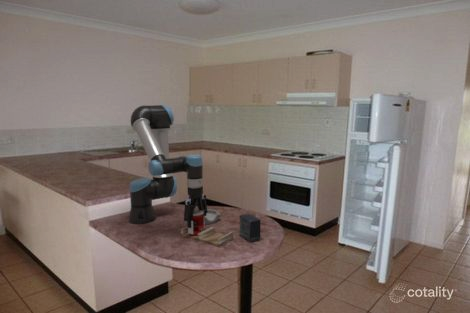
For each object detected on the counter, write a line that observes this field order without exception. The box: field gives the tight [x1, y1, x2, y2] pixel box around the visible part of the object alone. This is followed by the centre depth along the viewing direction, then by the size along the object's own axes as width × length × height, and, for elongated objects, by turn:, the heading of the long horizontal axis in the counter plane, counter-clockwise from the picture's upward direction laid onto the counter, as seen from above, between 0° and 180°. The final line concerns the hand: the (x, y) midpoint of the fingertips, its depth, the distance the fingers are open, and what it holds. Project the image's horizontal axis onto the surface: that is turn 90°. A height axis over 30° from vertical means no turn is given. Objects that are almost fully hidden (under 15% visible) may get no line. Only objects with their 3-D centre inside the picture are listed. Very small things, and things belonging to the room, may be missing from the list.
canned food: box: [189, 209, 205, 236], centre depth 165 cm, size 8×8×11 cm
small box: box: [239, 213, 261, 243], centre depth 161 cm, size 11×6×10 cm, turn 28°
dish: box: [204, 208, 221, 225], centre depth 186 cm, size 14×14×5 cm
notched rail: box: [180, 226, 234, 248], centre depth 162 cm, size 24×11×4 cm, turn 56°
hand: (196, 230), depth 165 cm, fingers closed on canned food, 8 cm apart
